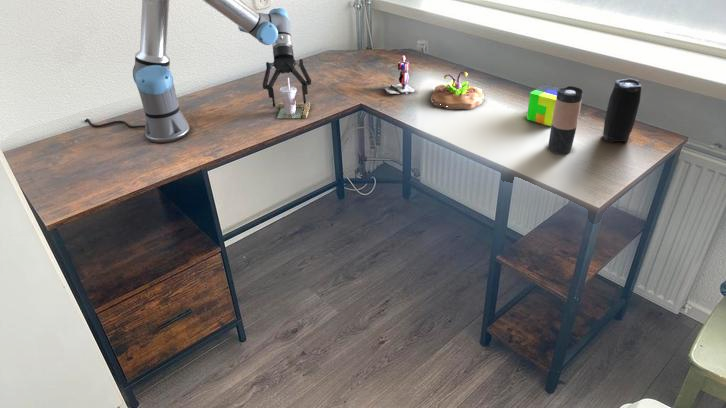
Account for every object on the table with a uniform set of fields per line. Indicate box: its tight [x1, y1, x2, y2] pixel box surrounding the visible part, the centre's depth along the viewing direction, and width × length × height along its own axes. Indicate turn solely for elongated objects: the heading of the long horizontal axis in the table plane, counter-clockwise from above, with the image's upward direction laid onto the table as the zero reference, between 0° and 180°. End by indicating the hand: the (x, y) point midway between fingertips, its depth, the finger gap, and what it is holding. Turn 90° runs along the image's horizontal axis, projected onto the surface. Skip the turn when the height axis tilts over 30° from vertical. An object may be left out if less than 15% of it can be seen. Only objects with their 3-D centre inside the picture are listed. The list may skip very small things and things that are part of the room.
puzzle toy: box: [526, 84, 560, 127], centre depth 195 cm, size 10×10×10 cm
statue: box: [381, 55, 416, 95], centre depth 220 cm, size 11×9×15 cm
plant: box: [430, 71, 485, 110], centre depth 212 cm, size 20×20×11 cm
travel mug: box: [548, 85, 584, 155], centre depth 174 cm, size 8×8×20 cm
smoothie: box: [278, 76, 297, 115], centre depth 205 cm, size 6×6×14 cm
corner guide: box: [276, 101, 311, 120], centre depth 209 cm, size 12×12×2 cm
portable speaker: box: [602, 77, 643, 144], centre depth 178 cm, size 9×9×20 cm
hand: (289, 103), depth 204 cm, fingers open, 11 cm apart
